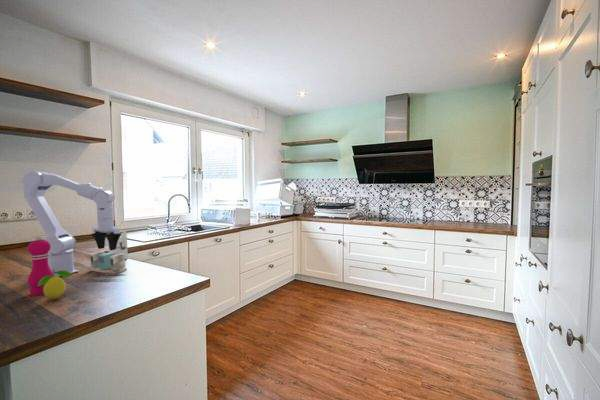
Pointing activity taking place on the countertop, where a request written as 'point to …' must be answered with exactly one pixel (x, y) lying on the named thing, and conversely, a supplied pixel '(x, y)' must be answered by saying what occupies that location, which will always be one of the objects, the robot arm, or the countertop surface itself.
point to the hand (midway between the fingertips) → (107, 249)
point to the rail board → (115, 260)
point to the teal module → (104, 260)
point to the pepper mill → (38, 264)
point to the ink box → (121, 245)
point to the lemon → (54, 284)
